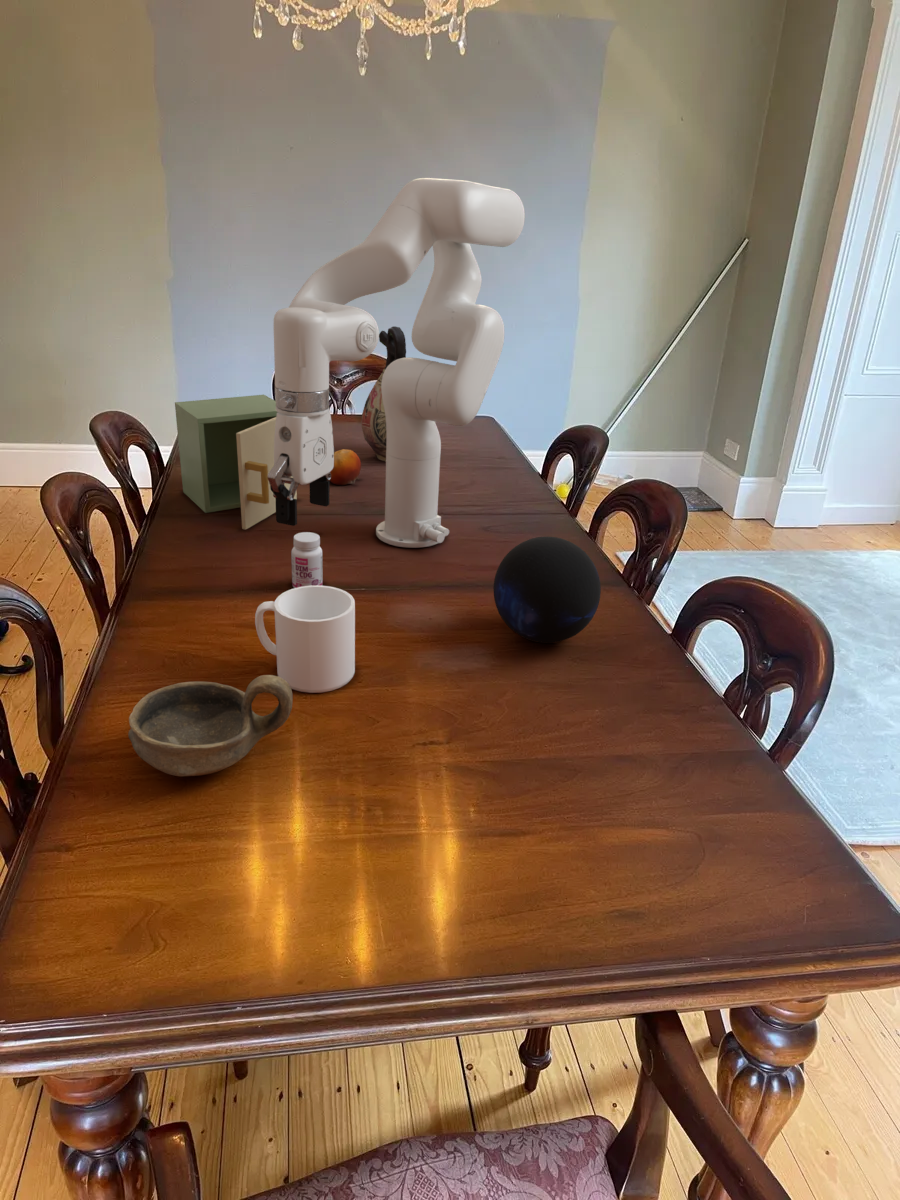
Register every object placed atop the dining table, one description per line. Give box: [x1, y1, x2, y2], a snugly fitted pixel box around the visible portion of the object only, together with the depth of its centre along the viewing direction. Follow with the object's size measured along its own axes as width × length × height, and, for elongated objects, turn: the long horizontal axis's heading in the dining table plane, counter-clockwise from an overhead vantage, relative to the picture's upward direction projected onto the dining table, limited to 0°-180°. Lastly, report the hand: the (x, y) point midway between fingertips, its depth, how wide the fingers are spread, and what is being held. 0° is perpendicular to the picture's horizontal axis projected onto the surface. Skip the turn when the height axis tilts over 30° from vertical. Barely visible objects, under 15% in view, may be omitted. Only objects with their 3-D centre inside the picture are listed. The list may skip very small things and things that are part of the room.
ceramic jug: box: [361, 326, 407, 462], centre depth 187 cm, size 17×15×30 cm
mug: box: [254, 585, 356, 694], centre depth 107 cm, size 13×10×10 cm
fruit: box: [328, 448, 362, 486], centre depth 176 cm, size 8×8×8 cm
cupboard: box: [174, 394, 277, 514], centre depth 162 cm, size 13×18×18 cm
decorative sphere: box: [493, 536, 602, 644], centre depth 118 cm, size 15×15×15 cm
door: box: [236, 417, 298, 531], centre depth 153 cm, size 5×18×18 cm, turn 159°
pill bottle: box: [290, 531, 324, 589], centre depth 130 cm, size 5×5×8 cm
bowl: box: [127, 674, 294, 777], centre depth 90 cm, size 14×18×10 cm
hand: (303, 513), depth 126 cm, fingers open, 9 cm apart
